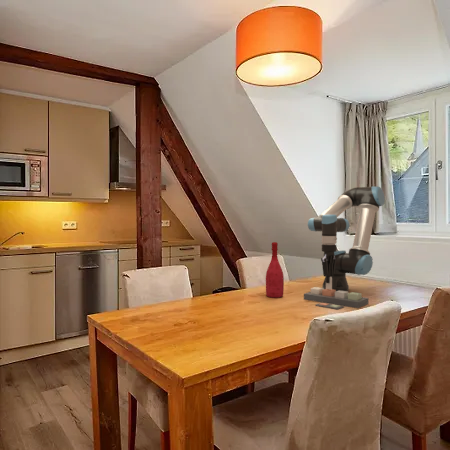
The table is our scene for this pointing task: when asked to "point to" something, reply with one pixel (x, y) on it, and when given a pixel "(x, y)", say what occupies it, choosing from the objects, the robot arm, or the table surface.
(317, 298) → the keypad
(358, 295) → the key sage
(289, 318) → the table surface
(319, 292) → the key ivory
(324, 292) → the key terracotta
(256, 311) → the table surface
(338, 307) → the placard
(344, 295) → the key beige
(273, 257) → the wine bottle
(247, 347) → the table surface
